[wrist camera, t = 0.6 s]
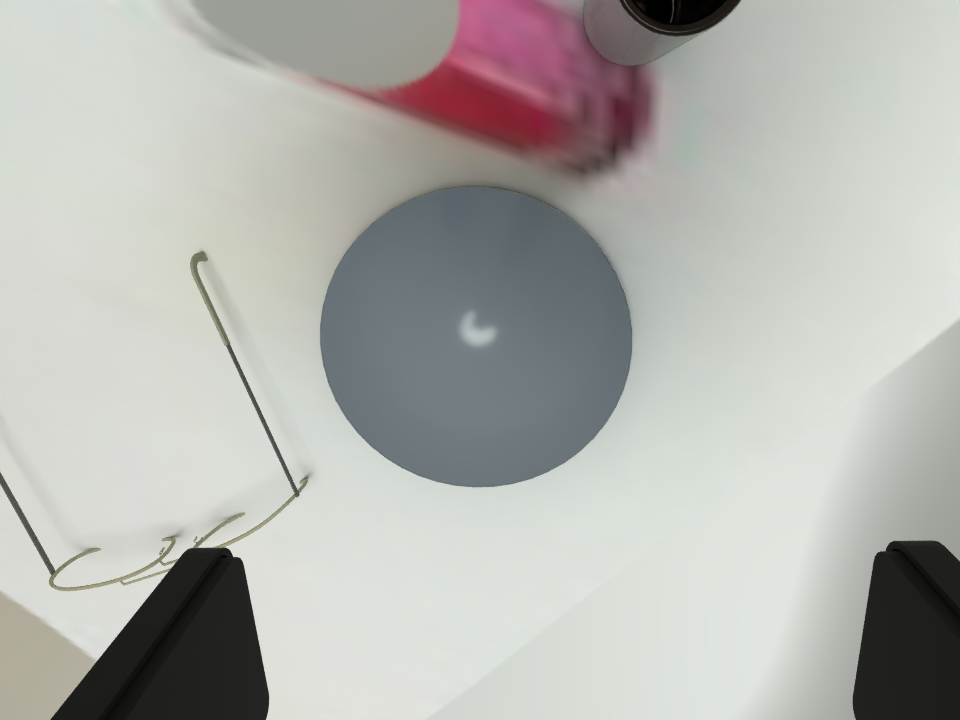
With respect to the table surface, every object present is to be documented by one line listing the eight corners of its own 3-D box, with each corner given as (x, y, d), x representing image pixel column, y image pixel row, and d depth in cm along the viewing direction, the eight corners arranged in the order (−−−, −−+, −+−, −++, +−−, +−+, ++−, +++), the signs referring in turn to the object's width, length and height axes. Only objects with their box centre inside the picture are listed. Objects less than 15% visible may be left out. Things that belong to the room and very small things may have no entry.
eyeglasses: (98, 562, 43) (45, 616, 38) (-38, 348, 39) (-117, 378, 34) (326, 486, 40) (300, 533, 35) (206, 248, 36) (158, 265, 31)
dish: (536, 123, 33) (537, 122, 31) (679, 397, 36) (684, 406, 35) (268, 284, 36) (259, 289, 35) (425, 520, 40) (422, 531, 39)
